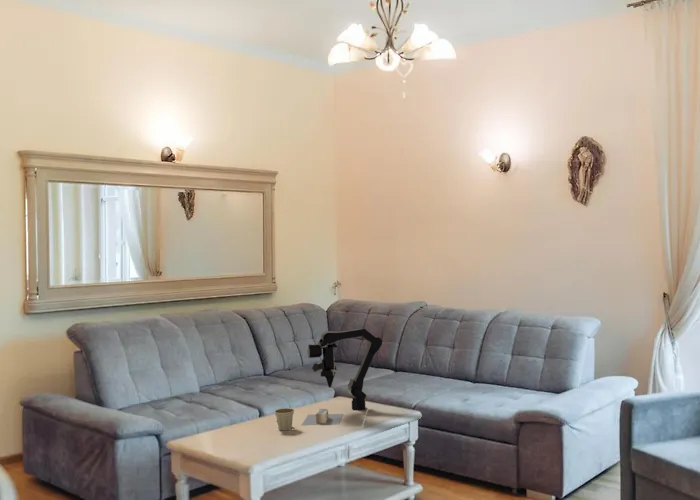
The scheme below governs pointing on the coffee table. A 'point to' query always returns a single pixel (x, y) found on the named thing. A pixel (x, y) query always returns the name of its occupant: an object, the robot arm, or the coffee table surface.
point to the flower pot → (284, 418)
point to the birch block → (322, 416)
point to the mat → (332, 420)
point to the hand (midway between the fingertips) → (329, 387)
